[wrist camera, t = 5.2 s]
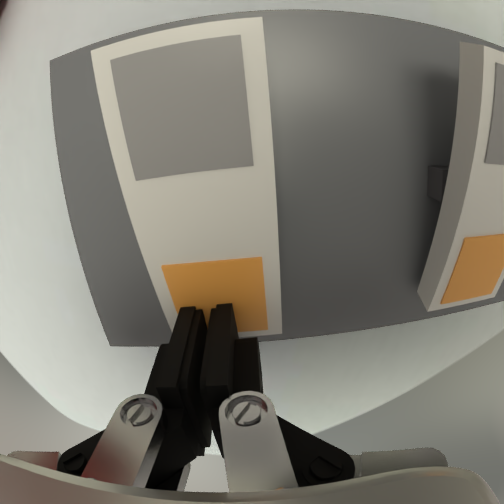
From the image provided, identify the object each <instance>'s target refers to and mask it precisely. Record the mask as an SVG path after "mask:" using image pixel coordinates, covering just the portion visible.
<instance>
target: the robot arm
mask: <svg viewBox="0 0 504 504" xmlns="http://www.w3.org/2000/svg"><path fill="white" fill-rule="evenodd" d="M212 430H213V433H214V436H215V439H216V442H217V444H218V447H219V450H220V452H221V455H222V457H223V458H224V460H225V467H226V474H227V481H228V488H229V493H227V492H224V493H215V492H214V493H213V492H184V489H185V486H186V483H187V479H188V476H189V472H190V462H191V461H192V460H194V459H195V458H196V456H204V452H205V447H210V444H211V433H212ZM0 504H500V502H499V500H498V499H497V497H496V496H495V494H494V492H493V491H492V489H491V488H490V487H489V485H488V484H487V483H486V482H485V481H484V480H483V479H482V478H481V477H480V476H479V475H477V474H476V473H474V472H472V471H470V470H467V469H462V468H456V467H448V462H447V460H446V457H445V455H444V454H443V453H441V452H440V451H439V450H437V449H434V448H415V449H405V450H392V451H372V452H362V454H361V455H349V454H347V453H346V452H344V451H343V450H341V449H339V448H337V447H335V446H333V445H331V444H329V443H327V442H325V441H323V440H321V439H319V438H317V437H315V436H313V435H311V434H310V433H308V432H306V431H304V430H302V429H300V428H298V427H297V426H295V425H293V424H291V423H289V422H288V421H286V420H284V419H282V418H281V417H279V416H277V415H276V412H275V409H274V405H273V403H272V402H271V400H270V399H269V398H268V397H267V396H266V395H264V394H263V384H262V371H261V361H260V352H259V344H258V337H251V338H241V339H239V336H238V330H237V325H236V320H235V315H234V310H233V305H232V303H227V304H217V305H216V308H212V309H211V312H210V318H209V324H208V330H207V325H206V321H205V317H204V313H203V310H202V309H200V310H196V307H195V306H190V307H181V308H180V310H179V313H178V316H177V319H176V322H175V325H174V329H173V332H172V335H171V338H170V341H169V343H167V344H161V345H160V347H159V350H158V353H157V356H156V359H155V362H154V365H153V368H152V371H151V374H150V377H149V380H148V384H147V387H146V390H145V393H144V394H138V395H133V396H131V397H129V398H126V399H125V400H124V401H122V402H121V403H120V404H119V406H118V407H117V409H116V411H115V412H114V414H113V416H112V418H111V420H110V422H109V423H108V425H107V427H106V429H105V430H103V431H101V432H99V433H98V434H96V435H94V436H92V437H90V438H89V439H87V440H85V441H83V442H81V443H80V444H78V445H76V446H74V447H72V448H70V449H68V450H67V451H65V452H64V453H63V454H62V455H61V454H60V453H59V452H32V451H14V452H12V453H10V454H8V455H7V456H6V455H2V454H0Z"/></svg>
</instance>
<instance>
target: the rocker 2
mask: <svg viewBox="0 0 504 504" xmlns="http://www.w3.org/2000/svg"><path fill="white" fill-rule="evenodd" d="M503 279H504V52H501V51H498V50H496V49H493V48H490V47H487V46H484V45H479V44H473V43H467V42H460V62H459V87H458V101H457V112H456V122H455V130H454V138H453V145H452V152H451V158H450V164H449V170H448V176H447V181H446V186H445V191H444V196H443V200H442V205H441V209H440V214H439V218H438V222H437V226H436V230H435V234H434V237H433V241H432V245H431V248H430V252H429V255H428V259H427V262H426V265H425V268H424V272H423V275H422V278H421V281H420V284H419V287H418V290H417V293H418V294H419V296H420V298H421V300H422V302H423V304H424V306H425V308H426V310H427V312H429V311H434V310H439V309H444V308H449V307H454V306H458V305H463V304H467V303H472V302H476V301H481V300H485V299H489V298H493V297H495V295H496V293H497V291H498V289H499V287H500V285H501V283H502V281H503Z"/></svg>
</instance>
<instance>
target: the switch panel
mask: <svg viewBox="0 0 504 504" xmlns="http://www.w3.org/2000/svg"><path fill="white" fill-rule="evenodd" d="M252 17H262V20H263V30H264V40H265V51H266V62H267V74H268V86H269V98H270V111H271V125H272V139H273V153H274V169H275V185H276V202H277V220H278V240H279V261H280V284H281V311H282V334H274V335H262V336H250V337H239V339H241V338H251V337H258V342H261V341H273V340H284V339H294V338H303V337H312V336H321V335H329V334H336V333H344V332H351V331H358V330H365V329H371V328H377V327H383V326H389V325H395V324H401V323H406V322H412V321H417V320H422V319H427V318H432V317H437V316H442V315H446V314H451V313H456V312H460V311H464V310H469V309H473V308H477V307H481V306H485V305H489V304H493V303H497V302H500V301H504V279H503V281H502V283H501V285H500V287H499V289H498V291H497V293H496V295H495V297H493V298H489V299H485V300H481V301H476V302H472V303H467V304H463V305H458V306H454V307H449V308H444V309H439V310H434V311H429V312H427V310H426V308H425V306H424V304H423V302H422V300H421V298H420V296H419V294H418V293H417V290H418V287H419V284H420V281H421V278H422V275H423V272H424V268H425V265H426V262H427V259H428V255H429V252H430V248H431V245H432V241H433V237H434V234H435V230H436V226H437V222H438V218H439V214H440V209H441V205H442V200H443V196H444V191H445V186H446V181H447V176H448V170H449V164H450V158H451V152H452V145H453V138H454V130H455V122H456V112H457V101H458V87H459V62H460V42H467V43H473V44H479V45H484V46H487V47H490V48H493V49H496V50H498V51H501V52H504V48H503V47H501V46H498V45H496V44H493V43H490V42H487V41H484V40H482V39H479V38H476V37H473V36H469V35H466V34H463V33H459V32H456V31H453V30H449V29H445V28H441V27H437V26H433V25H429V24H425V23H420V22H415V21H410V20H405V19H399V18H394V17H387V16H381V15H373V14H365V13H356V12H344V11H329V10H263V11H248V12H236V13H227V14H218V15H211V16H204V17H198V18H191V19H186V20H180V21H175V22H170V23H166V24H161V25H157V26H152V27H148V28H144V29H140V30H136V31H133V32H129V33H126V34H122V35H119V36H115V37H112V38H109V39H106V40H103V41H100V42H97V43H94V44H91V45H88V46H86V47H83V48H80V49H78V50H75V51H72V52H70V53H67V54H65V55H62V56H60V57H58V58H55V59H53V60H51V61H50V82H51V99H52V112H53V122H54V131H55V139H56V147H57V154H58V160H59V167H60V173H61V178H62V184H63V189H64V194H65V199H66V204H67V208H68V213H69V217H70V221H71V226H72V230H73V234H74V238H75V242H76V245H77V249H78V253H79V256H80V260H81V263H82V267H83V270H84V273H85V276H86V280H87V283H88V286H89V289H90V292H91V295H92V298H93V301H94V304H95V307H96V310H97V312H98V315H99V318H100V321H101V323H102V326H103V329H104V331H105V334H106V336H107V339H108V341H109V344H110V346H160V345H161V344H167V343H169V341H170V338H171V335H172V331H171V329H170V326H169V324H168V322H167V319H166V317H165V314H164V312H163V309H162V307H161V304H160V302H159V299H158V296H157V294H156V291H155V289H154V286H153V283H152V281H151V278H150V275H149V272H148V270H147V267H146V264H145V261H144V258H143V255H142V253H141V250H140V247H139V244H138V241H137V238H136V235H135V232H134V229H133V226H132V222H131V219H130V216H129V213H128V210H127V206H126V203H125V200H124V196H123V193H122V190H121V186H120V183H119V179H118V175H117V172H116V168H115V164H114V161H113V157H112V153H111V149H110V145H109V141H108V137H107V132H106V128H105V124H104V119H103V115H102V110H101V106H100V101H99V96H98V91H97V86H96V80H95V75H94V69H93V63H92V57H91V50H94V49H97V48H100V47H103V46H107V45H110V44H113V43H116V42H120V41H123V40H126V39H130V38H134V37H138V36H141V35H145V34H149V33H154V32H158V31H163V30H167V29H172V28H177V27H182V26H188V25H194V24H200V23H206V22H214V21H221V20H230V19H240V18H252Z"/></svg>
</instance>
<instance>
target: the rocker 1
mask: <svg viewBox="0 0 504 504" xmlns="http://www.w3.org/2000/svg"><path fill="white" fill-rule="evenodd" d="M91 57H92V63H93V69H94V75H95V80H96V86H97V91H98V96H99V101H100V106H101V110H102V115H103V119H104V124H105V128H106V132H107V137H108V141H109V145H110V149H111V153H112V157H113V161H114V164H115V168H116V172H117V175H118V179H119V183H120V186H121V190H122V193H123V196H124V200H125V203H126V206H127V210H128V213H129V216H130V219H131V222H132V226H133V229H134V232H135V235H136V238H137V241H138V244H139V247H140V250H141V253H142V255H143V258H144V261H145V264H146V267H147V270H148V272H149V275H150V278H151V281H152V283H153V286H154V289H155V291H156V294H157V296H158V299H159V302H160V304H161V307H162V309H163V312H164V314H165V317H166V319H167V322H168V324H169V326H170V329H171V331H172V332H173V329H174V325H175V322H176V319H177V316H178V313H179V310H180V308H181V307H190V306H195V307H196V310H200V309H202V310H203V313H204V317H205V321H206V325H207V330H208V324H209V318H210V312H211V309H212V308H216V305H217V304H227V303H232V305H233V310H234V315H235V320H236V325H237V330H238V336H239V337H250V336H262V335H274V334H282V311H281V284H280V261H279V240H278V220H277V202H276V185H275V169H274V153H273V139H272V125H271V111H270V98H269V86H268V74H267V62H266V51H265V40H264V30H263V20H262V17H252V18H240V19H230V20H221V21H214V22H206V23H200V24H194V25H188V26H182V27H177V28H172V29H167V30H163V31H158V32H154V33H149V34H145V35H141V36H138V37H134V38H130V39H126V40H123V41H120V42H116V43H113V44H110V45H107V46H103V47H100V48H97V49H94V50H91Z"/></svg>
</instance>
